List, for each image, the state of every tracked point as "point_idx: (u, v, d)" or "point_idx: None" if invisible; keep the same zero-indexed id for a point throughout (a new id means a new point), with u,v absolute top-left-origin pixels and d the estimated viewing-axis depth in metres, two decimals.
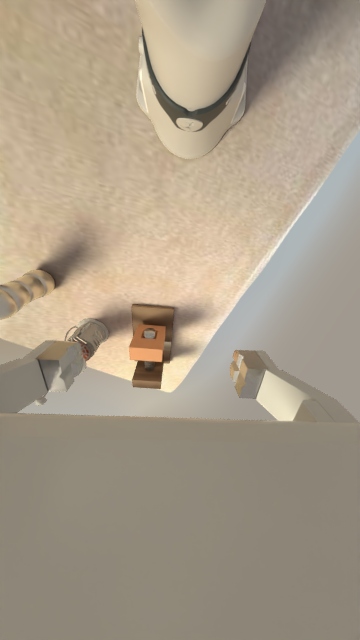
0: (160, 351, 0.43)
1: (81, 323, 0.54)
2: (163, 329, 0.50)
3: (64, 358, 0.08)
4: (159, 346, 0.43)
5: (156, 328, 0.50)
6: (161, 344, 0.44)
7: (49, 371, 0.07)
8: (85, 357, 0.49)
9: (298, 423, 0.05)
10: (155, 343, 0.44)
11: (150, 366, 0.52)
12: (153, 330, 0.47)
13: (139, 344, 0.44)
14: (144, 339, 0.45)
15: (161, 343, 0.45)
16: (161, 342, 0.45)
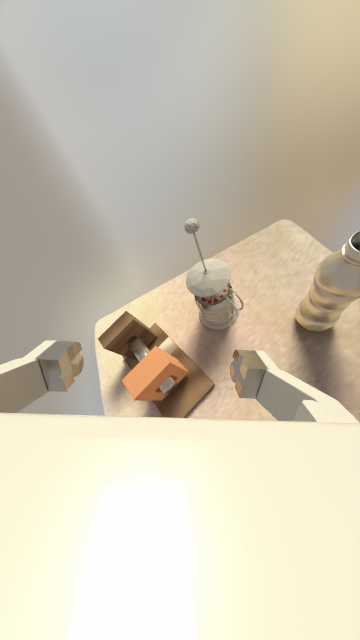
0: (133, 394, 0.28)
1: (236, 309, 0.41)
2: (160, 398, 0.35)
3: (64, 358, 0.08)
4: (141, 396, 0.28)
5: None
6: (142, 398, 0.29)
7: (49, 371, 0.07)
8: None
9: (298, 423, 0.05)
10: (149, 391, 0.29)
11: (131, 346, 0.37)
12: (167, 392, 0.32)
13: (163, 373, 0.29)
14: (165, 379, 0.30)
15: (143, 398, 0.29)
16: (144, 397, 0.30)
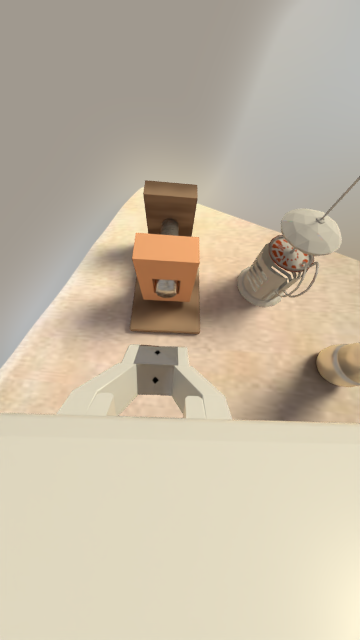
0: (136, 254, 0.21)
1: (277, 298, 0.35)
2: (145, 295, 0.29)
3: (156, 362, 0.08)
4: (140, 265, 0.22)
5: (156, 296, 0.29)
6: (138, 269, 0.23)
7: (143, 375, 0.08)
8: (278, 242, 0.28)
9: (298, 423, 0.05)
10: (150, 271, 0.23)
11: (166, 226, 0.29)
12: (159, 294, 0.26)
13: (180, 269, 0.22)
14: (173, 278, 0.24)
15: (139, 271, 0.23)
16: (139, 273, 0.23)
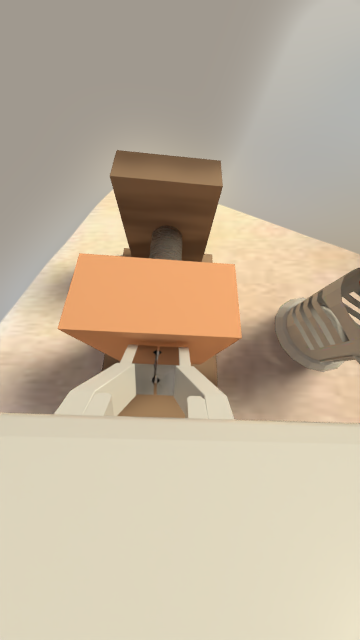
0: (71, 316, 0.08)
1: None
2: None
3: (155, 362, 0.08)
4: (88, 336, 0.09)
5: None
6: (87, 340, 0.09)
7: (142, 375, 0.08)
8: None
9: (298, 423, 0.05)
10: (117, 342, 0.10)
11: (159, 240, 0.15)
12: None
13: (188, 342, 0.09)
14: None
15: (91, 342, 0.10)
16: (94, 343, 0.10)
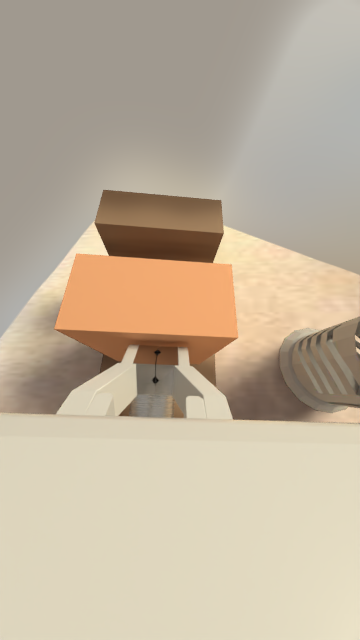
0: (68, 316, 0.08)
1: None
2: (120, 359, 0.16)
3: (156, 362, 0.08)
4: (85, 336, 0.09)
5: None
6: (84, 340, 0.09)
7: (143, 375, 0.08)
8: None
9: (298, 423, 0.05)
10: (114, 342, 0.10)
11: None
12: None
13: (185, 342, 0.09)
14: None
15: (88, 342, 0.10)
16: (91, 344, 0.10)
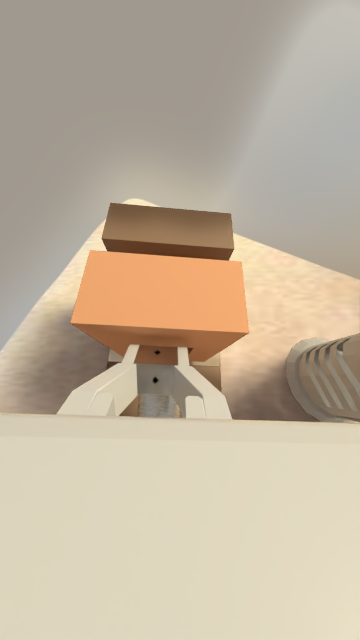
0: (83, 311, 0.08)
1: None
2: None
3: (156, 362, 0.08)
4: (98, 331, 0.09)
5: None
6: (96, 335, 0.10)
7: (143, 375, 0.08)
8: None
9: (298, 423, 0.05)
10: (126, 338, 0.10)
11: None
12: None
13: (196, 338, 0.09)
14: (178, 345, 0.11)
15: (100, 337, 0.10)
16: (103, 339, 0.10)
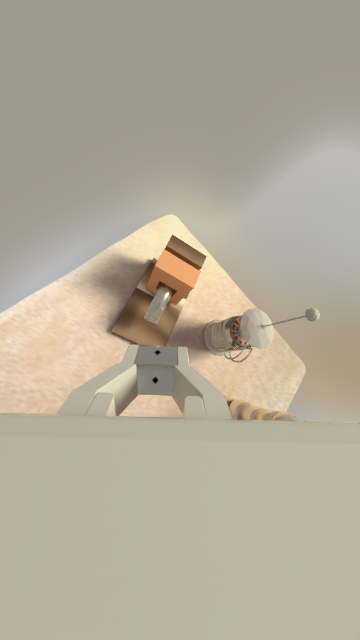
0: (158, 264, 0.31)
1: (226, 352, 0.46)
2: (148, 287, 0.39)
3: (156, 362, 0.08)
4: (157, 271, 0.32)
5: (156, 291, 0.40)
6: (154, 272, 0.33)
7: (143, 375, 0.08)
8: (239, 320, 0.39)
9: (298, 423, 0.05)
10: (161, 276, 0.33)
11: None
12: (145, 319, 0.35)
13: (180, 285, 0.33)
14: (173, 287, 0.35)
15: (154, 273, 0.33)
16: (154, 274, 0.34)
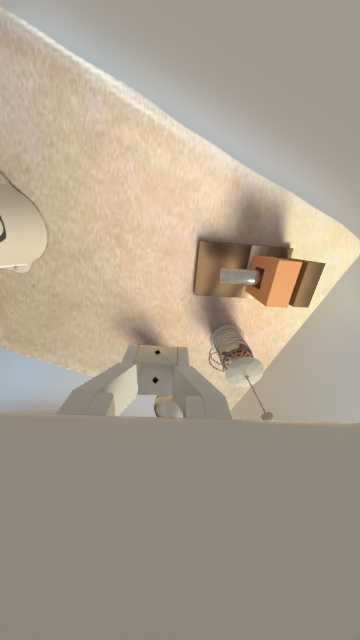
0: (281, 263, 0.29)
1: (215, 348, 0.51)
2: (255, 258, 0.37)
3: (156, 362, 0.08)
4: (274, 264, 0.30)
5: (253, 267, 0.38)
6: (272, 261, 0.31)
7: (143, 375, 0.08)
8: (248, 355, 0.41)
9: (298, 423, 0.05)
10: (269, 270, 0.32)
11: None
12: (220, 270, 0.36)
13: (265, 292, 0.33)
14: (261, 285, 0.34)
15: (271, 261, 0.31)
16: (270, 261, 0.32)
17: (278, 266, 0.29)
